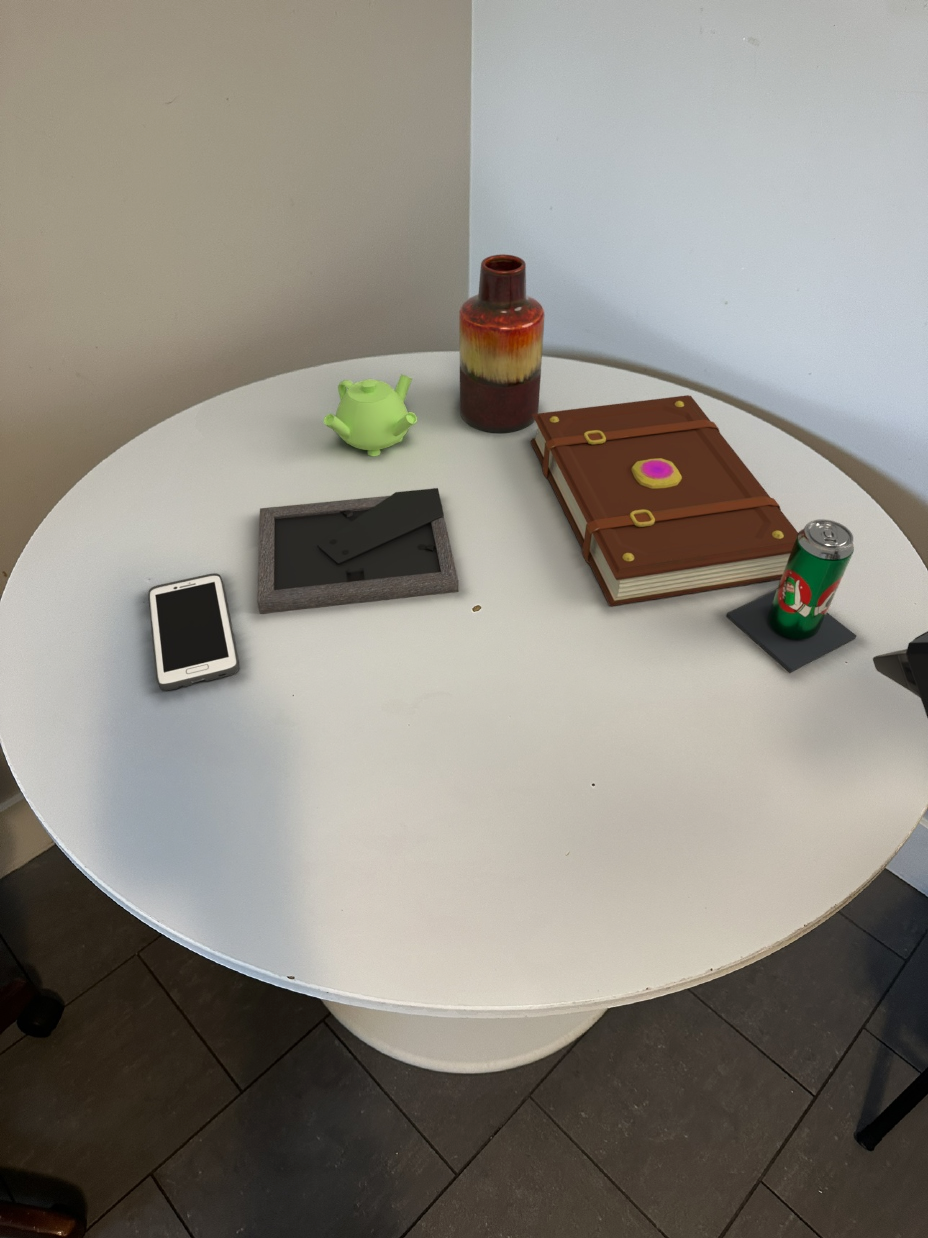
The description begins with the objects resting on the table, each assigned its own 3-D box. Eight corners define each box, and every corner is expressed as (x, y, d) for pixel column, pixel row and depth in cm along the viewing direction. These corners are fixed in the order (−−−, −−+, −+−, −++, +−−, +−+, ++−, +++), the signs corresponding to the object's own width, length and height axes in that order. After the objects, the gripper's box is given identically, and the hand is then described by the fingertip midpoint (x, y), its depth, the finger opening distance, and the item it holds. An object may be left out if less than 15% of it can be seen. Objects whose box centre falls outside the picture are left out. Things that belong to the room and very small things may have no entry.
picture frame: (438, 501, 99) (262, 518, 96) (438, 487, 97) (259, 505, 95) (458, 591, 88) (259, 613, 85) (458, 577, 86) (256, 600, 84)
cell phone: (159, 694, 78) (156, 688, 77) (149, 593, 87) (146, 586, 87) (241, 674, 79) (239, 667, 79) (222, 577, 89) (220, 570, 88)
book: (607, 607, 86) (613, 572, 82) (528, 442, 107) (530, 409, 104) (806, 576, 89) (820, 540, 85) (690, 422, 111) (697, 388, 107)
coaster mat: (789, 586, 88) (790, 582, 87) (855, 639, 82) (856, 635, 82) (726, 616, 85) (727, 612, 84) (790, 673, 79) (791, 669, 79)
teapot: (333, 418, 112) (326, 361, 106) (417, 415, 112) (414, 358, 106) (329, 465, 104) (320, 407, 98) (419, 462, 104) (416, 403, 98)
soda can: (812, 609, 85) (851, 518, 76) (822, 645, 81) (864, 553, 73) (762, 605, 85) (795, 514, 76) (770, 641, 82) (805, 549, 73)
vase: (554, 414, 112) (567, 265, 98) (494, 442, 107) (498, 289, 93) (502, 383, 118) (507, 238, 103) (444, 408, 113) (440, 260, 99)
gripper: (1188, 460, 52) (962, 506, 66) (1001, 558, 45) (795, 585, 60) (1239, 623, 53) (1004, 634, 67) (1062, 743, 46) (844, 725, 61)
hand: (916, 641), depth 64 cm, fingers open, 9 cm apart
